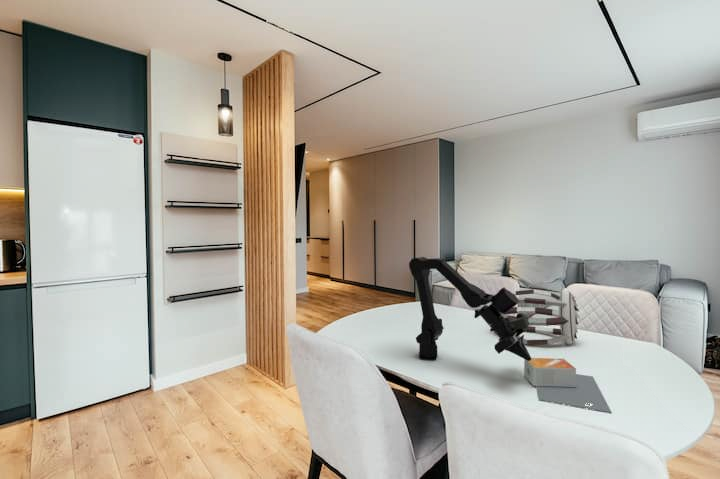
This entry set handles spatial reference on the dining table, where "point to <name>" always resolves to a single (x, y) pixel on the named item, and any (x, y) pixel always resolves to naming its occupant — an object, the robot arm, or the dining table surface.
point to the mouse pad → (576, 394)
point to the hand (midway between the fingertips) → (530, 360)
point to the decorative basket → (565, 315)
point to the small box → (550, 372)
